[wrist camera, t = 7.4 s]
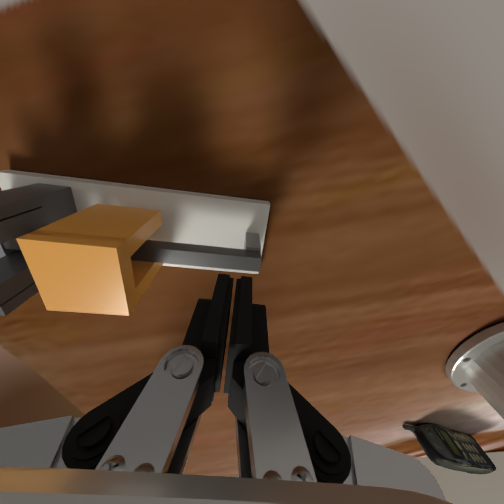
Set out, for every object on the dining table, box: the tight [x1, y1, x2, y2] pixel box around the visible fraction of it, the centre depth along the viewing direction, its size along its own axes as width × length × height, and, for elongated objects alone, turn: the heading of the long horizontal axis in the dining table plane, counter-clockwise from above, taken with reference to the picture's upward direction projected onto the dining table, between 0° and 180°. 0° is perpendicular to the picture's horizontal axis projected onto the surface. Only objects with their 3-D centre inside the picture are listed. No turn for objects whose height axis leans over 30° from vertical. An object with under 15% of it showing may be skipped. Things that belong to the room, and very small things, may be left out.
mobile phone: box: [403, 424, 496, 474], centre depth 33 cm, size 5×3×15 cm
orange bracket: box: [16, 203, 164, 316], centre depth 12 cm, size 4×4×6 cm
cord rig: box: [0, 170, 270, 316], centre depth 13 cm, size 18×6×8 cm, turn 83°
